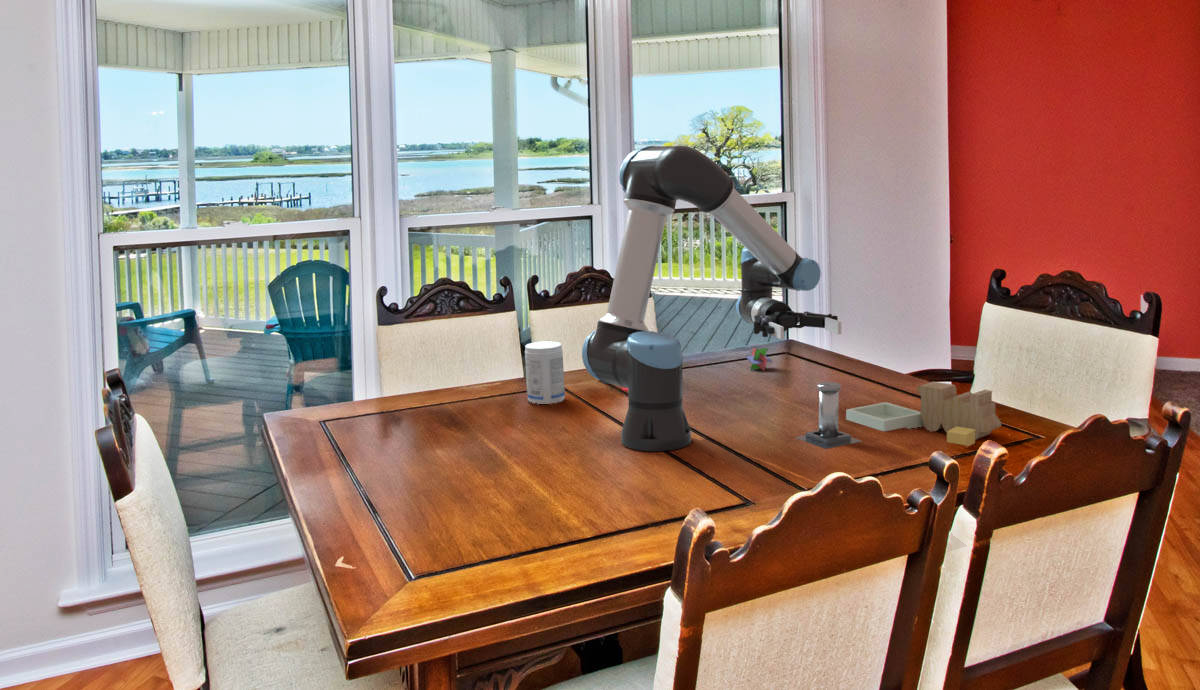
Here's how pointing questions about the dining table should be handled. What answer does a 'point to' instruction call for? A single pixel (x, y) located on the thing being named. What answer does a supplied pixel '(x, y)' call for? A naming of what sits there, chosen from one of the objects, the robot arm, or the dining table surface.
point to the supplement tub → (544, 372)
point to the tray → (885, 416)
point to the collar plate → (828, 439)
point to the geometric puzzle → (759, 358)
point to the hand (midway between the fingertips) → (811, 330)
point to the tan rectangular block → (961, 436)
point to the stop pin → (828, 408)
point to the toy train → (957, 409)
